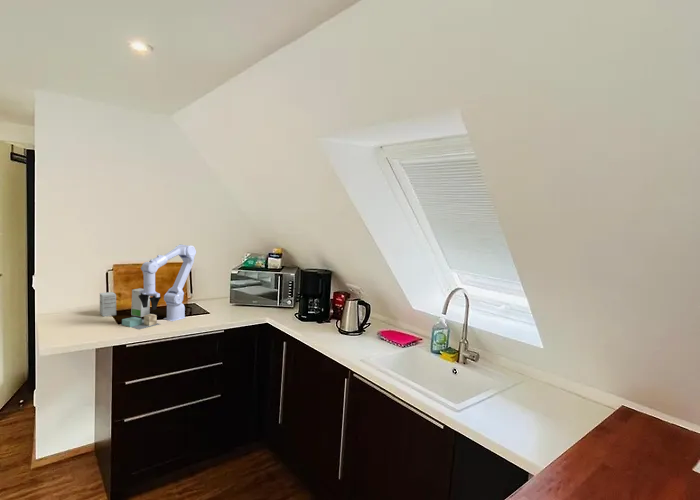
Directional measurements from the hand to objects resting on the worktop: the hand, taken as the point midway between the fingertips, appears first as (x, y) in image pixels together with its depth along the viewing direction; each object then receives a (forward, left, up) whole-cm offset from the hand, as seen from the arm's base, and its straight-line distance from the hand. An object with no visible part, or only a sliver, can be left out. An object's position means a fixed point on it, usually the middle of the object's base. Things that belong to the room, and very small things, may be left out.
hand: (149, 308), depth 231 cm
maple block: (0, 0, -9) cm, 9 cm away
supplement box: (+1, -37, -10) cm, 38 cm away
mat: (+3, -4, -9) cm, 10 cm away
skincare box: (-9, -21, -10) cm, 25 cm away
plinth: (+6, -7, -9) cm, 13 cm away
